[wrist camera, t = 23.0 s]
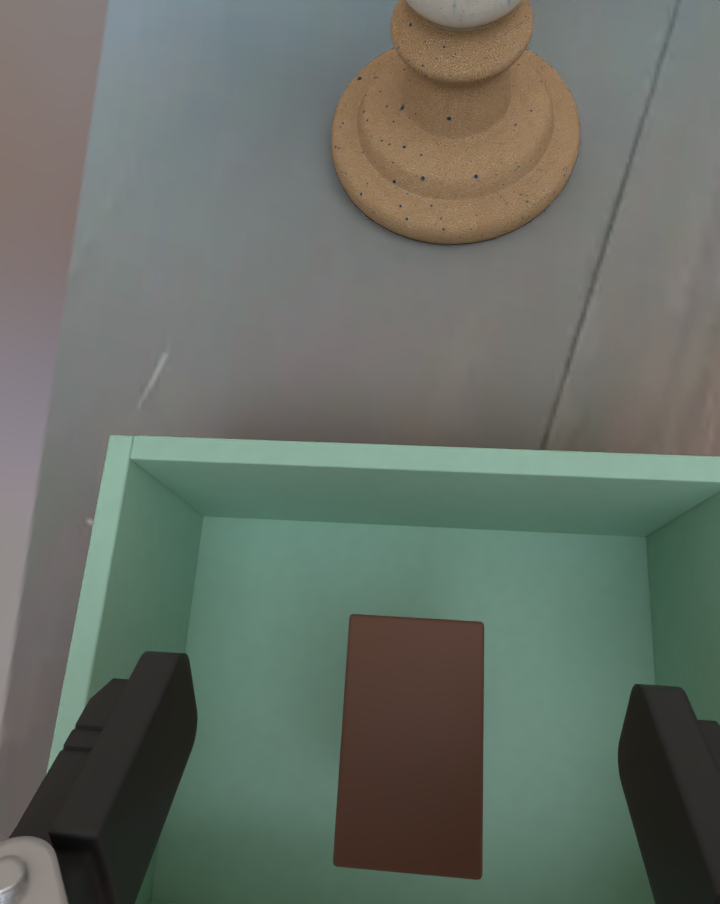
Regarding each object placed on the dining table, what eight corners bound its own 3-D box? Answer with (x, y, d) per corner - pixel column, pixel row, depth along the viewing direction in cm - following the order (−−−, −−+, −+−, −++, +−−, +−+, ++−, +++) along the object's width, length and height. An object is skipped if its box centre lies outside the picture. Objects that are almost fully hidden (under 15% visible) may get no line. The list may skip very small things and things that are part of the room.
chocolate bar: (367, 783, 25) (329, 869, 14) (375, 639, 27) (347, 610, 15) (452, 789, 25) (485, 884, 13) (455, 644, 26) (487, 619, 15)
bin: (134, 915, 25) (-5, 1035, 17) (194, 502, 30) (108, 433, 21) (690, 972, 23) (846, 1137, 15) (658, 523, 28) (761, 457, 20)
